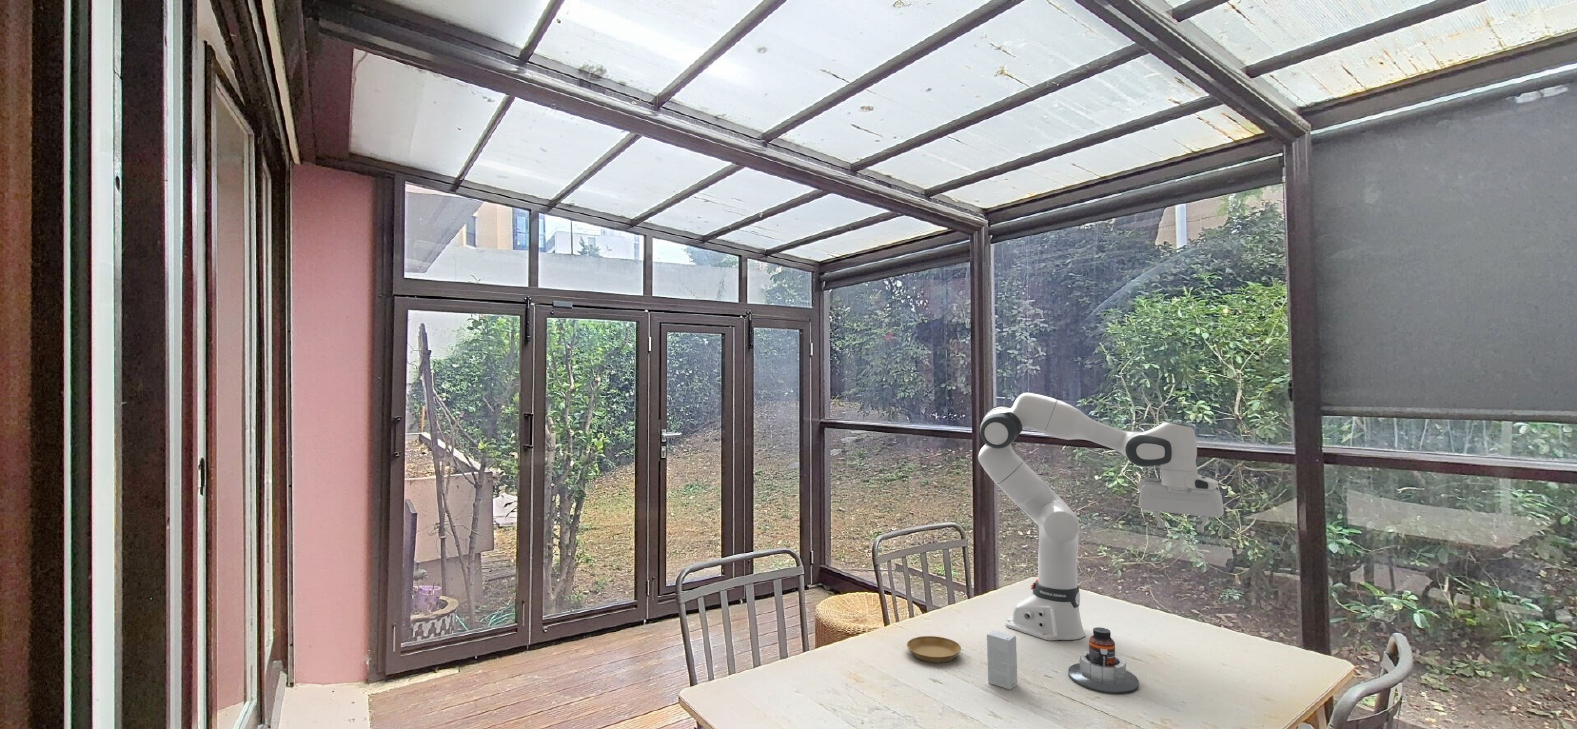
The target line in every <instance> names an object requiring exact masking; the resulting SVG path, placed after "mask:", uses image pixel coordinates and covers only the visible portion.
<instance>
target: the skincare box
mask: <svg viewBox="0 0 1577 729" xmlns="http://www.w3.org/2000/svg"><path fill="white" fill-rule="evenodd" d="M986 642H987V643H986V647H987V649H986V650H987V652H986V653H987V654H986V655H987V683H988V684H990V685H991V684H992V685H994V686H998V687H1000V688H1004V689H1007V690H1012V689H1014V688H1015V687H1016V686H1017V685H1018V658H1017V656H1018V655H1017V636H1016V635H1014V634H1010V633H1006V632H1001V631H999V630H998V631H997V630H993V631H991V632H990V633H987V634H986Z"/></svg>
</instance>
